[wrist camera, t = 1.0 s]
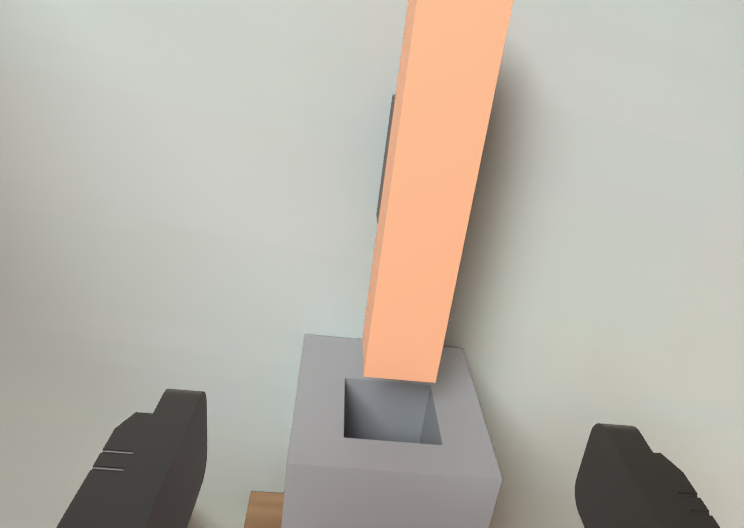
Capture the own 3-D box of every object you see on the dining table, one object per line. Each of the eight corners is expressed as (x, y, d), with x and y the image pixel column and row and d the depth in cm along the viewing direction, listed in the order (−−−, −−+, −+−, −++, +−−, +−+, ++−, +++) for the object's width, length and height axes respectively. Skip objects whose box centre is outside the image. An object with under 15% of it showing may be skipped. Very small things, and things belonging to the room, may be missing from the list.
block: (304, 334, 33) (286, 463, 24) (462, 348, 34) (502, 479, 25) (294, 445, 37) (275, 595, 28) (438, 456, 37) (466, 606, 28)
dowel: (412, -26, 22) (420, -28, 19) (495, -14, 23) (516, -15, 20) (362, 337, 29) (363, 376, 26) (427, 343, 29) (435, 382, 26)
